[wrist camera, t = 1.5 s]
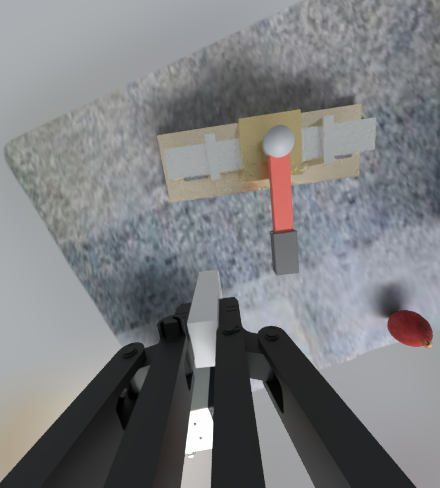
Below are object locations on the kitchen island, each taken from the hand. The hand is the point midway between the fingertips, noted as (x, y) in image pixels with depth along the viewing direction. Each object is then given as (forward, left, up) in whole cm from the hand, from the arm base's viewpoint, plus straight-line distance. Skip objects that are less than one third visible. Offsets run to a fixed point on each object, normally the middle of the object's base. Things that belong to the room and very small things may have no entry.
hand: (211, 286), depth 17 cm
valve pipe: (-8, -11, -21) cm, 25 cm away
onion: (-31, +21, -22) cm, 43 cm away
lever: (-8, -4, -10) cm, 14 cm away
